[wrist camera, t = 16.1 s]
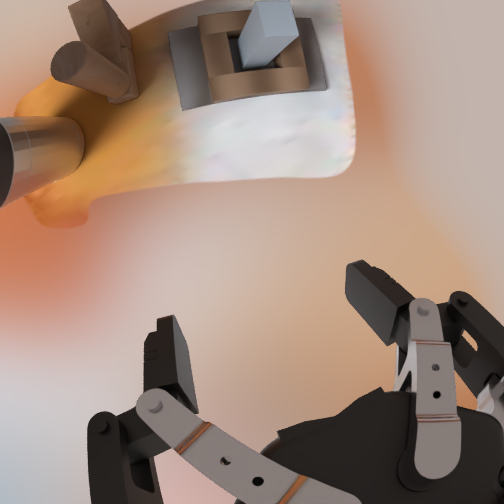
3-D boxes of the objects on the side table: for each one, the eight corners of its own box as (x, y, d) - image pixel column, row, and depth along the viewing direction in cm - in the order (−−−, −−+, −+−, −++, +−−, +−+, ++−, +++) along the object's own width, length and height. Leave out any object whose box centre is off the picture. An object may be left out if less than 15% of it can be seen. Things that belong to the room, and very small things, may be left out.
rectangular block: (241, 70, 30) (265, 36, 17) (236, 44, 28) (256, 1, 15) (263, 67, 30) (299, 35, 17) (258, 42, 28) (289, 0, 16)
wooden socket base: (182, 110, 32) (180, 107, 28) (168, 35, 26) (164, 23, 22) (323, 90, 33) (338, 87, 29) (308, 20, 28) (320, 10, 24)
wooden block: (131, 32, 25) (87, -25, 9) (140, 97, 30) (90, 71, 14) (106, 41, 25) (50, -7, 9) (115, 105, 29) (50, 90, 13)
